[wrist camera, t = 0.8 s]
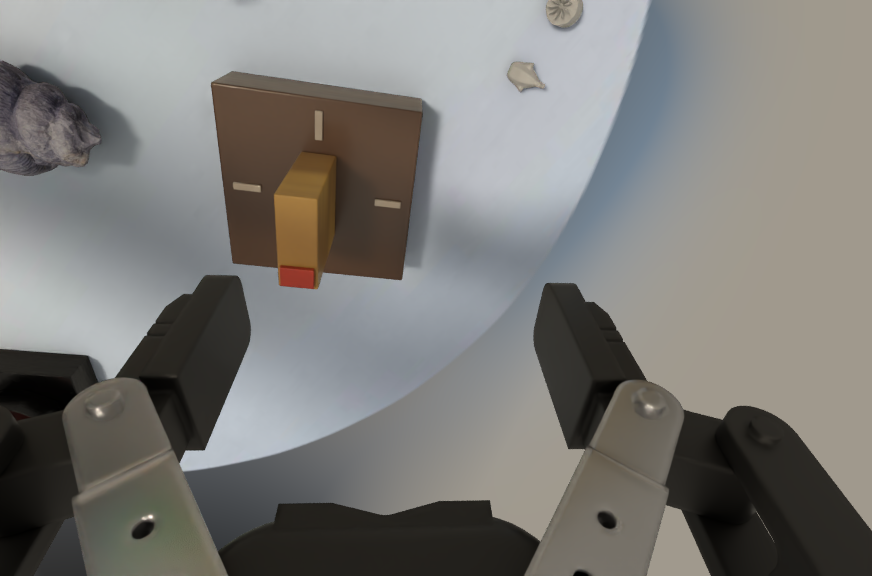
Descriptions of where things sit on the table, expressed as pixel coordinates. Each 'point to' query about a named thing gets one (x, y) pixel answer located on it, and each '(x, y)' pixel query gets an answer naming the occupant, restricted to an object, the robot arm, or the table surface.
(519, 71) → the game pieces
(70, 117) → the seashell
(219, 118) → the lock plate
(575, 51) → the table surface
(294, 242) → the thumb turn
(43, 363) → the block
